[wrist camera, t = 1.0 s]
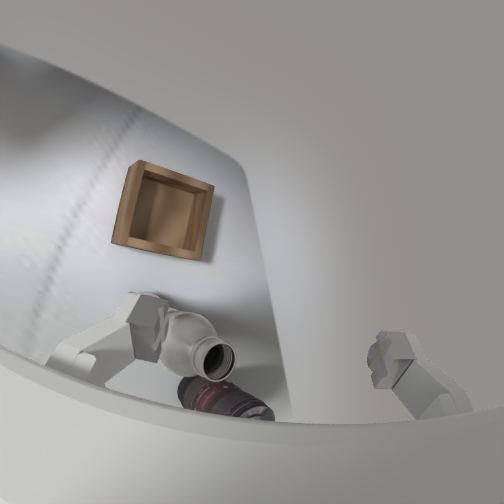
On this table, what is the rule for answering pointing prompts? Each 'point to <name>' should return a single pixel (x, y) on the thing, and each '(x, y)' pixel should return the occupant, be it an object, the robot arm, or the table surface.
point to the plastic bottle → (195, 347)
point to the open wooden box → (162, 212)
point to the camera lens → (221, 399)
